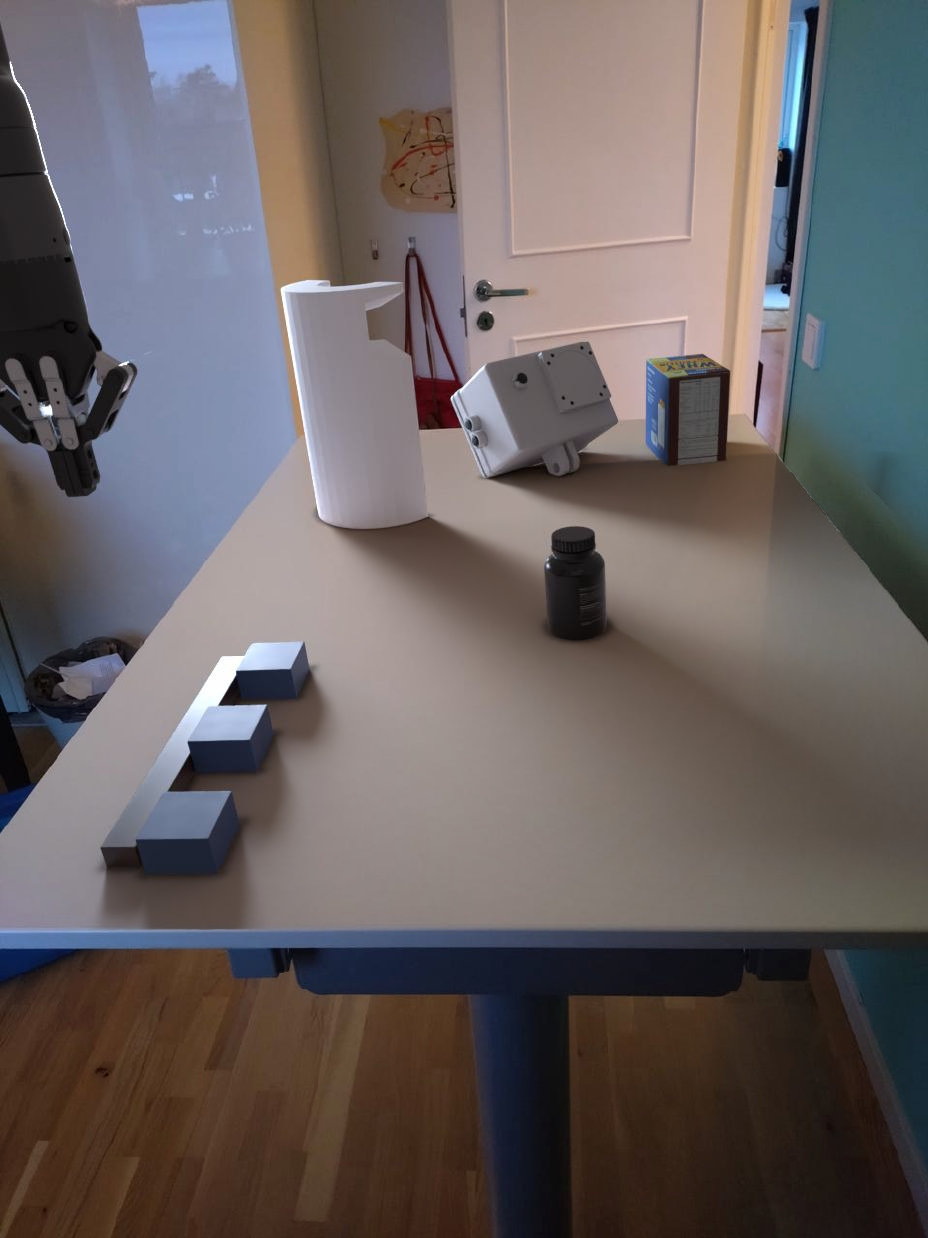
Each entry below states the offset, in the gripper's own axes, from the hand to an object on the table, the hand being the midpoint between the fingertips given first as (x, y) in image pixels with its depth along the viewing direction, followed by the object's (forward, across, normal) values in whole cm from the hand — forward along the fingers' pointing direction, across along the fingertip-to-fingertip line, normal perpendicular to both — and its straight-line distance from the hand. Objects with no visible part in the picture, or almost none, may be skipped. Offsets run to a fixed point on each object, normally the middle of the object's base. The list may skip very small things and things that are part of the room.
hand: (83, 493), depth 69 cm
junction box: (+29, +33, +91) cm, 101 cm away
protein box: (+29, +59, +94) cm, 115 cm away
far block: (+29, +5, +18) cm, 35 cm away
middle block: (+29, +5, +6) cm, 30 cm away
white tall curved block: (+29, +5, +70) cm, 76 cm away
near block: (+29, +5, -8) cm, 30 cm away
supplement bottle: (+29, +38, +29) cm, 56 cm away
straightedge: (+29, 0, +6) cm, 30 cm away
